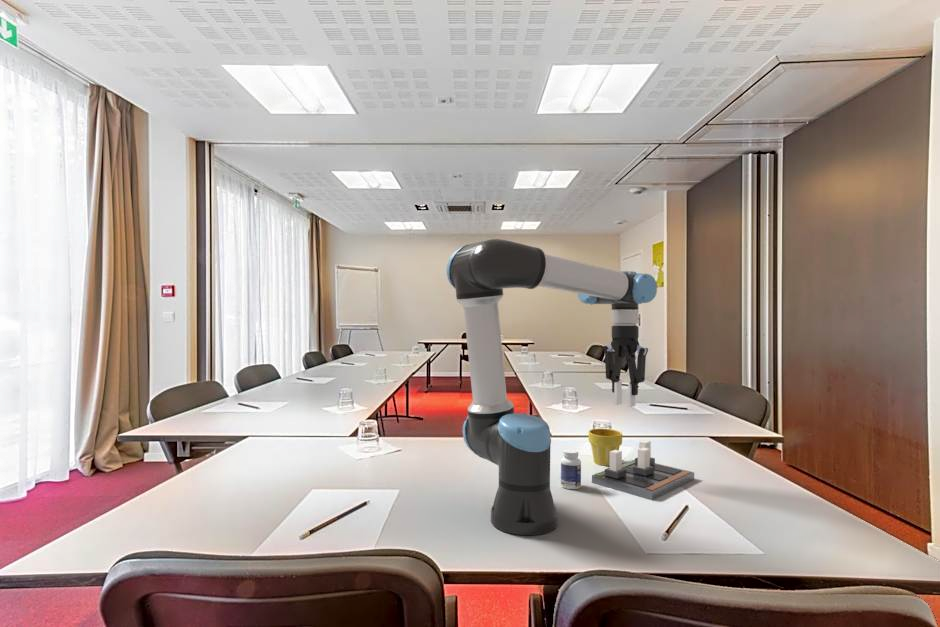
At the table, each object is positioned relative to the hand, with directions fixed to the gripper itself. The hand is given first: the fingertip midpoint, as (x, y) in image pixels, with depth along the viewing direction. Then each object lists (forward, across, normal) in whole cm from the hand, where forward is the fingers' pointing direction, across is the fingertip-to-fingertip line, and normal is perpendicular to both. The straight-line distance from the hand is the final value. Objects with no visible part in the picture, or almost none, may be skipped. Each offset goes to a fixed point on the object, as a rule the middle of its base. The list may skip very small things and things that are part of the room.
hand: (624, 405), depth 148 cm
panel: (+21, -6, 0) cm, 21 cm away
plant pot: (+21, +11, -7) cm, 25 cm away
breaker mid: (+18, -6, 0) cm, 19 cm away
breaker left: (+18, -2, +8) cm, 20 cm away
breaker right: (+18, -2, -8) cm, 20 cm away
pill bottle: (+21, +5, +19) cm, 29 cm away
